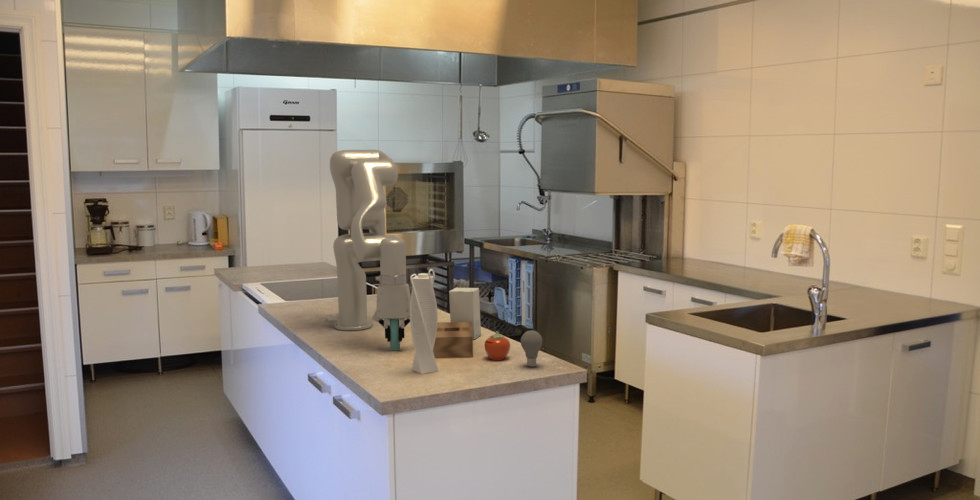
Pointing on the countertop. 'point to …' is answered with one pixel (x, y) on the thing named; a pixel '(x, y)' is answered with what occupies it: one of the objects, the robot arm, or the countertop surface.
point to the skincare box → (466, 308)
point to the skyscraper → (423, 322)
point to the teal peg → (394, 334)
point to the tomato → (497, 346)
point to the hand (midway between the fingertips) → (394, 340)
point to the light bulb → (531, 346)
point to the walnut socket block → (453, 340)
